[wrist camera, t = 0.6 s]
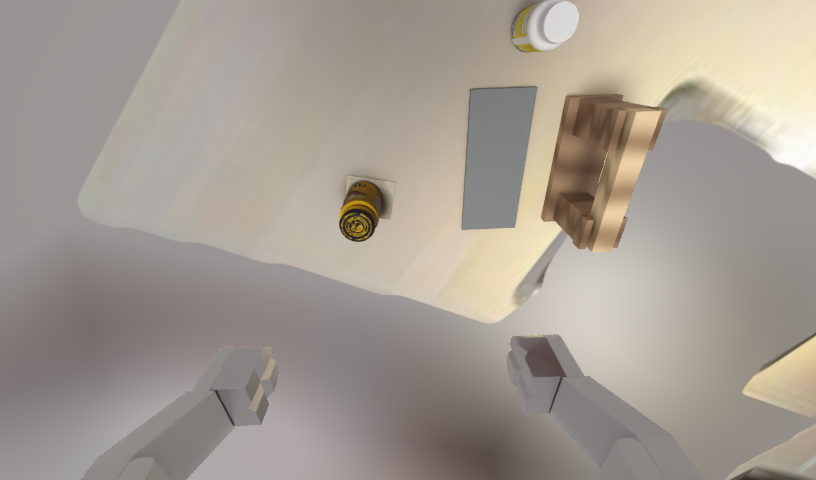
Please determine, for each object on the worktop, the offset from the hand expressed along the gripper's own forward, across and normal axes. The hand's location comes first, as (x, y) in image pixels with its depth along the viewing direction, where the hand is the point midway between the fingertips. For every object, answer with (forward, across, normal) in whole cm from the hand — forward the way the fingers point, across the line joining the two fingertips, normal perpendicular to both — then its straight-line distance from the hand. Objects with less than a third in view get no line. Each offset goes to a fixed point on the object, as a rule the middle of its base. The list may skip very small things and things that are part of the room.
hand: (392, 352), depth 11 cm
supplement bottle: (+45, -19, -12) cm, 50 cm away
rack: (+45, -30, +7) cm, 55 cm away
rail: (+33, -30, +7) cm, 46 cm away
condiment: (+45, +6, +12) cm, 47 cm away
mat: (+45, -16, +7) cm, 48 cm away
